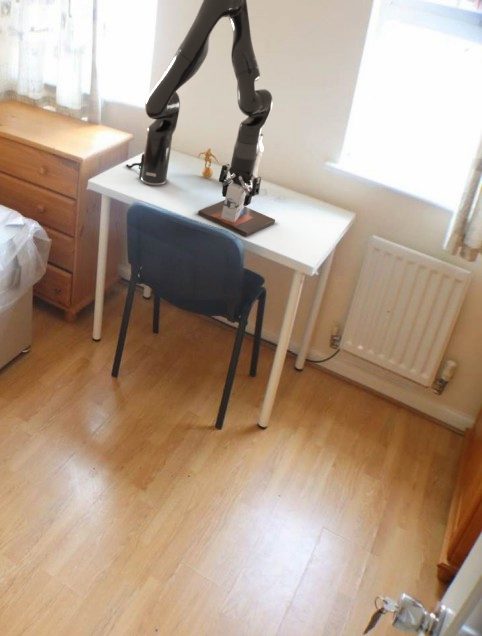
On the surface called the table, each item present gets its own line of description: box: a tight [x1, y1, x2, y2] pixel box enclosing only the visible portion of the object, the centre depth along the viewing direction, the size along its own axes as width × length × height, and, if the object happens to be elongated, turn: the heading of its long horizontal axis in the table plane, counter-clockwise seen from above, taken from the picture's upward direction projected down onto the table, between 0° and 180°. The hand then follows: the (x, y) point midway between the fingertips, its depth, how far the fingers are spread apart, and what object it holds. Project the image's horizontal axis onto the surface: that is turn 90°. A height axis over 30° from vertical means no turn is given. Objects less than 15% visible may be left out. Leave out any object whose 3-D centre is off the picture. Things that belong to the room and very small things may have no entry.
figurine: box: [197, 148, 219, 179], centre depth 265 cm, size 8×6×12 cm
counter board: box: [197, 199, 276, 238], centre depth 241 cm, size 20×16×2 cm
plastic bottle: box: [251, 133, 265, 186], centre depth 258 cm, size 6×7×20 cm
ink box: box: [221, 182, 248, 222], centre depth 236 cm, size 9×5×12 cm, turn 148°
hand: (235, 200), depth 236 cm, fingers open, 8 cm apart
